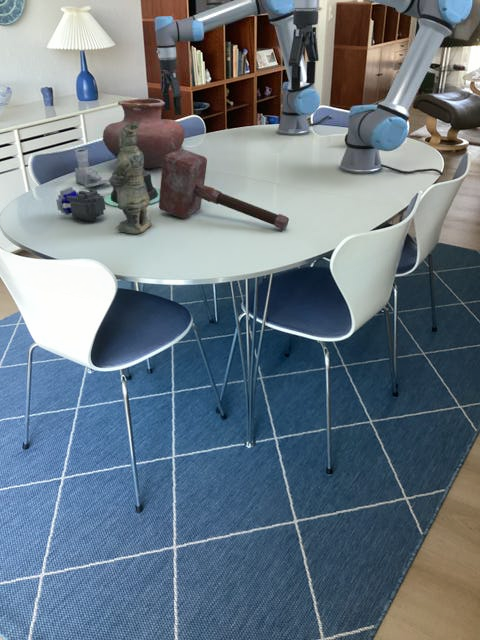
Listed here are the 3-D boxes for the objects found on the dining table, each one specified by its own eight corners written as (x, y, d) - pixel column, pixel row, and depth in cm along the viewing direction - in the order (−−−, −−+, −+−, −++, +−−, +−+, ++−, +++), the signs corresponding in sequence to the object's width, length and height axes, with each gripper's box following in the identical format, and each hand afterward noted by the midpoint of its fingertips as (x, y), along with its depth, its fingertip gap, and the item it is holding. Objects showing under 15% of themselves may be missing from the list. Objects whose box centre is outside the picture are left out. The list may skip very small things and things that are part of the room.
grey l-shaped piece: (86, 146, 202) (111, 153, 193) (91, 178, 208) (115, 186, 199) (65, 151, 196) (90, 158, 187) (70, 183, 202) (95, 192, 193)
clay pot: (194, 158, 230) (190, 94, 217) (174, 179, 204) (168, 107, 192) (124, 156, 235) (116, 93, 222) (96, 176, 209) (85, 106, 197)
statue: (131, 220, 168) (117, 116, 152) (158, 224, 164) (147, 118, 149) (109, 233, 159) (93, 124, 144) (138, 237, 156) (124, 126, 140)
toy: (69, 184, 172) (107, 190, 166) (73, 210, 176) (111, 217, 170) (49, 192, 165) (88, 198, 160) (54, 219, 170) (93, 226, 164)
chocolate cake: (91, 202, 180) (113, 186, 197) (142, 231, 182) (160, 212, 199) (107, 162, 172) (129, 148, 190) (160, 192, 174) (177, 176, 192)
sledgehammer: (299, 190, 156) (179, 147, 167) (285, 200, 148) (161, 154, 160) (286, 244, 166) (174, 200, 177) (272, 256, 158) (156, 209, 170)
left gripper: (149, 57, 238) (155, 109, 249) (168, 62, 219) (174, 118, 229) (166, 55, 241) (171, 107, 252) (186, 60, 221) (191, 115, 232)
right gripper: (308, 8, 177) (305, 80, 188) (278, 11, 158) (277, 91, 169) (330, 8, 174) (326, 81, 185) (303, 11, 155) (300, 92, 166)
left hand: (172, 112), depth 241 cm, fingers open, 13 cm apart
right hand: (303, 86), depth 177 cm, fingers open, 13 cm apart
